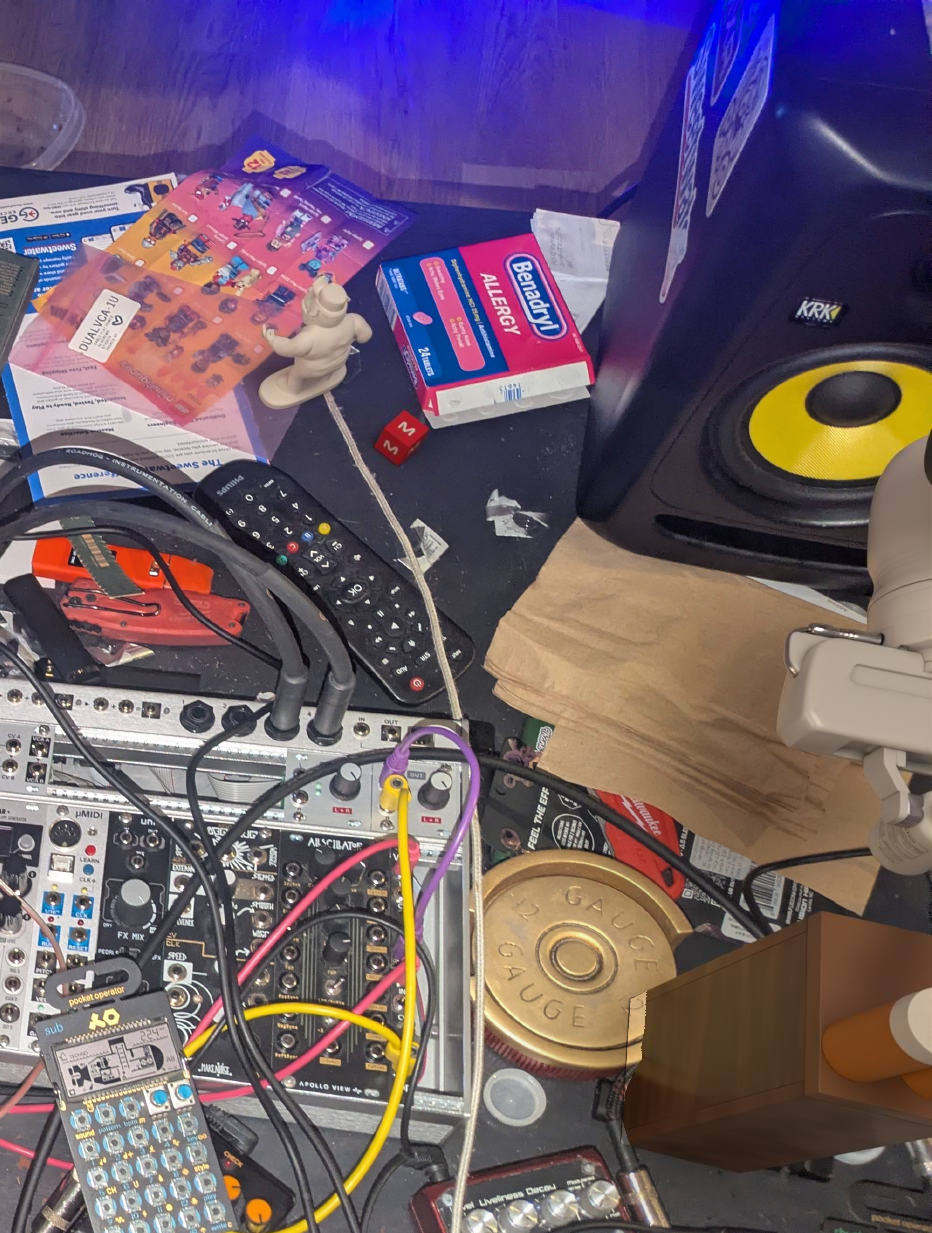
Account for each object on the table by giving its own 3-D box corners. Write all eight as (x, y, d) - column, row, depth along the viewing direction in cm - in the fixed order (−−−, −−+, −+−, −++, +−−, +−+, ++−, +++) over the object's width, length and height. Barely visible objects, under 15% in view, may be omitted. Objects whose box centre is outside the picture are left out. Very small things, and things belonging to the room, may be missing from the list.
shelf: (954, 949, 87) (971, 943, 86) (958, 1133, 83) (976, 1129, 82) (807, 916, 88) (821, 909, 87) (803, 1096, 84) (818, 1092, 83)
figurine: (321, 338, 135) (358, 249, 124) (357, 387, 133) (398, 300, 121) (241, 373, 134) (271, 286, 122) (277, 422, 131) (311, 338, 120)
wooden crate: (745, 1024, 109) (954, 949, 87) (740, 1173, 105) (958, 1133, 83) (629, 998, 110) (807, 916, 88) (619, 1143, 106) (803, 1096, 84)
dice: (418, 448, 130) (429, 428, 127) (398, 466, 129) (409, 447, 126) (394, 429, 131) (404, 409, 128) (373, 447, 130) (383, 428, 127)
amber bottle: (891, 1026, 84) (986, 997, 77) (891, 1092, 83) (988, 1069, 75) (820, 1009, 85) (907, 979, 77) (818, 1075, 83) (908, 1050, 76)
